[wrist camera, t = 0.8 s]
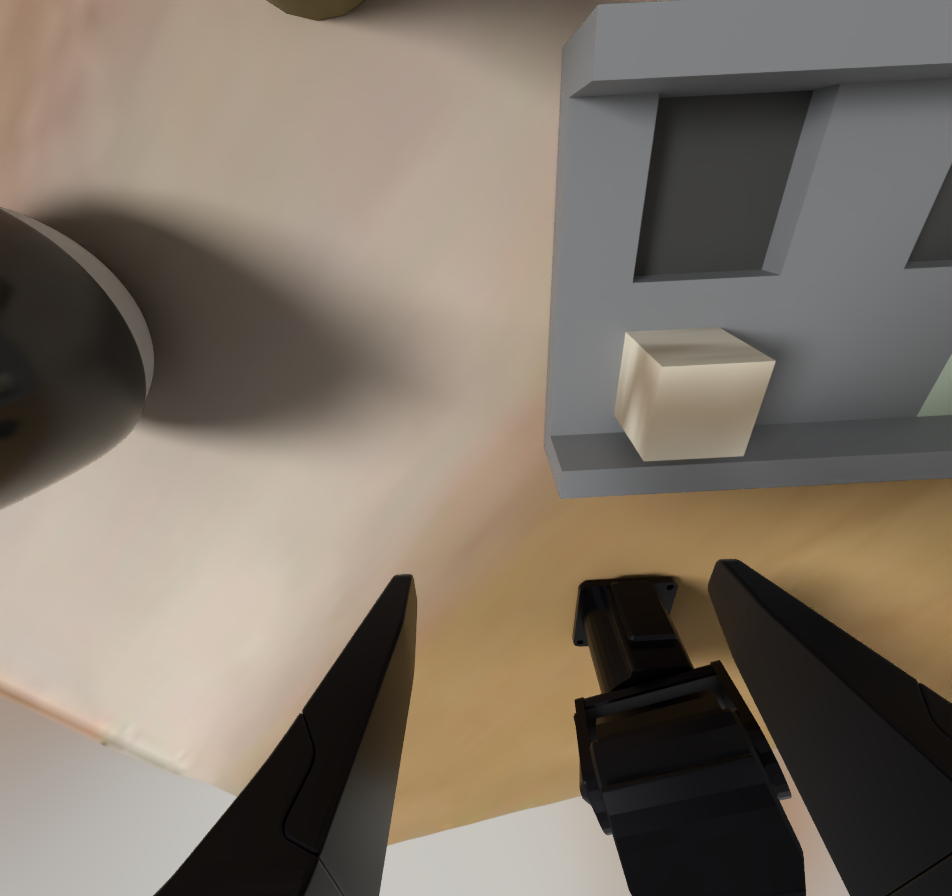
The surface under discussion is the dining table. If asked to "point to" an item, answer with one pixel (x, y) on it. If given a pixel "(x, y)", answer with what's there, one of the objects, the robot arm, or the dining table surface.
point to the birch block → (690, 393)
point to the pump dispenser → (63, 358)
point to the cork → (316, 7)
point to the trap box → (758, 233)
